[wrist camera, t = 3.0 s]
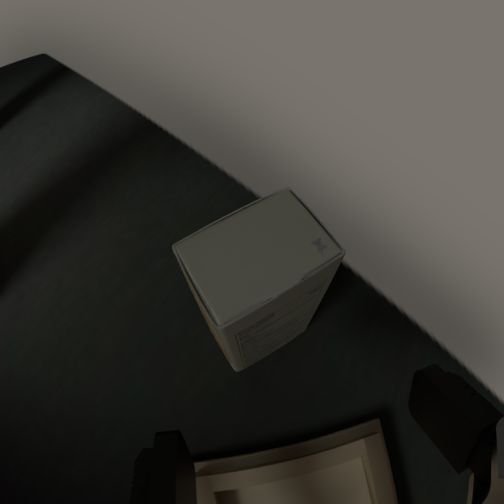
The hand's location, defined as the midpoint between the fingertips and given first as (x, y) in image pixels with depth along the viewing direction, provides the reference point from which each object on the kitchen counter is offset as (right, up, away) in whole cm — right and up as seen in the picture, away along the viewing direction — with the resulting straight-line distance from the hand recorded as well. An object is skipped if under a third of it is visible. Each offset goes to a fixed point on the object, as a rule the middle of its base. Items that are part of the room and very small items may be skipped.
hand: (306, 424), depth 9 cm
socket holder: (+2, -14, +7) cm, 15 cm away
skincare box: (-2, 0, +15) cm, 15 cm away
